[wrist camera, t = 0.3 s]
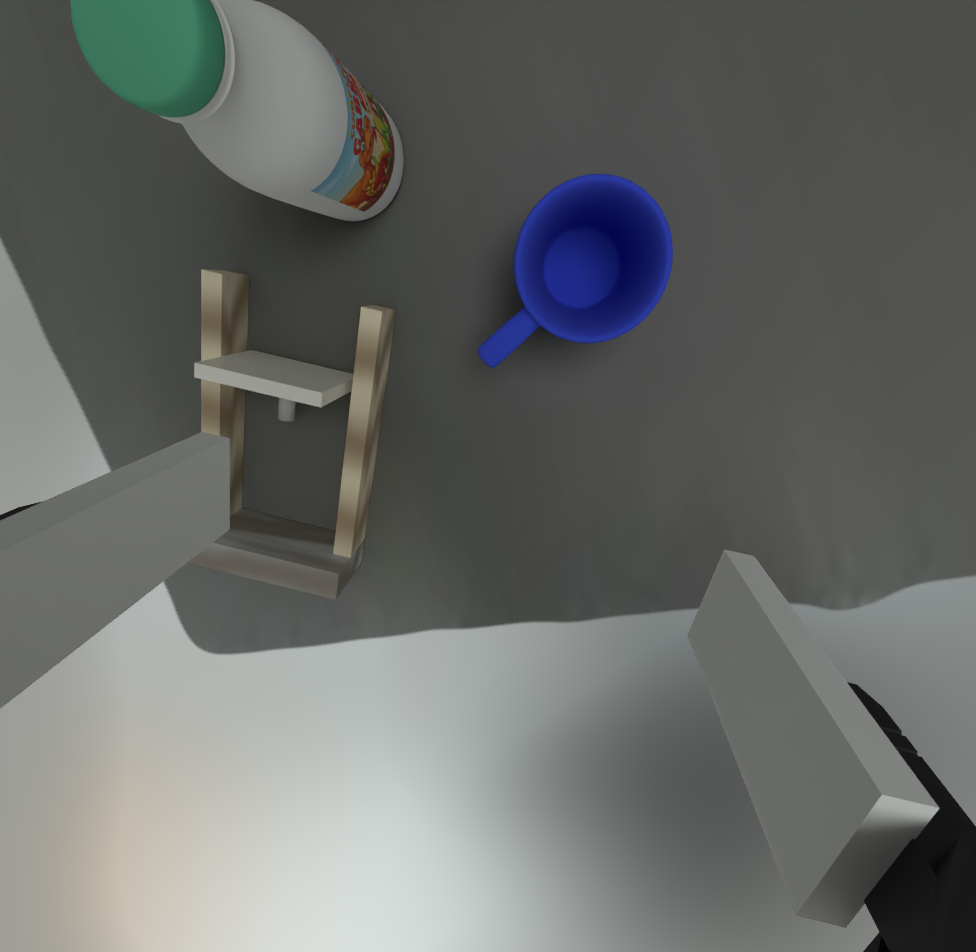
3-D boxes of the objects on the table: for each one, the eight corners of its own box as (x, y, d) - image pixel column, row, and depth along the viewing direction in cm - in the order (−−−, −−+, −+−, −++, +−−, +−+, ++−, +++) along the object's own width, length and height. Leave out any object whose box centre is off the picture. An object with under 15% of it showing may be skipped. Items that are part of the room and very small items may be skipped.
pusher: (251, 349, 40) (194, 362, 34) (359, 375, 40) (322, 393, 33) (249, 398, 42) (194, 419, 35) (353, 423, 41) (317, 449, 35)
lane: (230, 270, 39) (177, 268, 33) (396, 309, 38) (370, 313, 33) (225, 528, 47) (181, 561, 41) (361, 562, 46) (335, 599, 41)
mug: (459, 302, 38) (430, 307, 28) (591, 174, 34) (607, 132, 25) (531, 386, 39) (526, 417, 30) (664, 273, 35) (706, 269, 26)
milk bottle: (349, 246, 37) (149, 208, 18) (275, 150, 35) (-26, 2, 17) (429, 170, 35) (292, 40, 16) (354, 64, 33) (106, -218, 15)
